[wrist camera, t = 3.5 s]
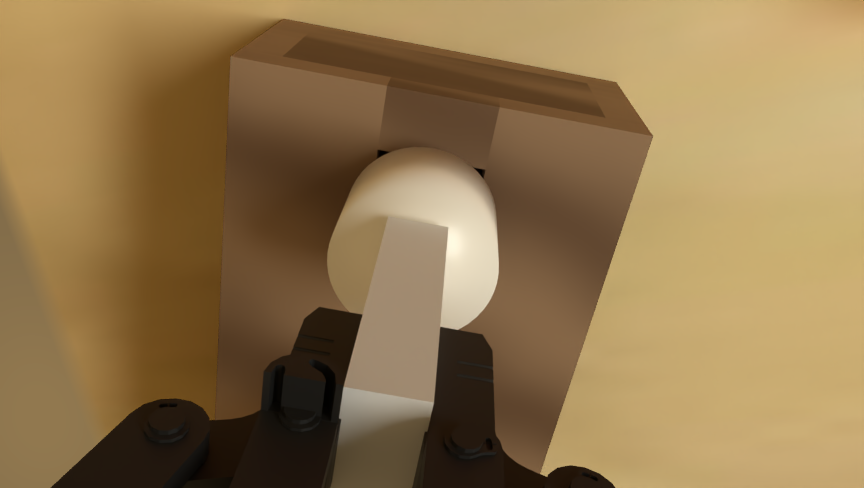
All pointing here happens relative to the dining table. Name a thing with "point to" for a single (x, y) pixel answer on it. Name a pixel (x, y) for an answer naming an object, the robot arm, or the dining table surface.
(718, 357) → the dining table surface
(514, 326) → the knob console
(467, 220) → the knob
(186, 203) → the dining table surface
